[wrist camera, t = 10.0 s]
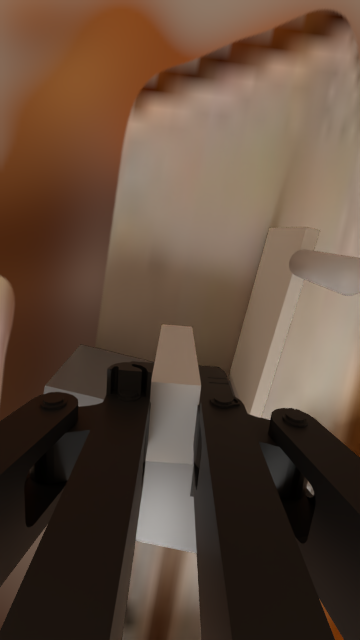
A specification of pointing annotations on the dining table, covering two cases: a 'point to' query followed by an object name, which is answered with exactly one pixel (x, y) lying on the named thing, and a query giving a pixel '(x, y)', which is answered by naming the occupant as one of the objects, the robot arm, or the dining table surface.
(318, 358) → the dining table surface
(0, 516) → the robot arm
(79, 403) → the box housing
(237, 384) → the door
